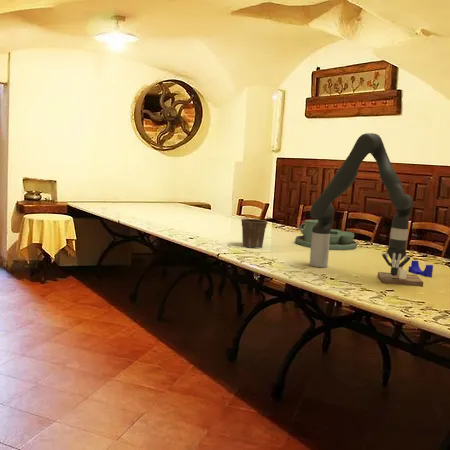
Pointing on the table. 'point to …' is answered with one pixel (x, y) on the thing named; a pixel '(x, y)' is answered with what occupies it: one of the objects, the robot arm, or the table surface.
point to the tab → (402, 274)
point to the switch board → (409, 280)
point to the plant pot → (253, 232)
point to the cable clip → (416, 269)
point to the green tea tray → (337, 237)
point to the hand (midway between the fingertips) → (393, 275)
